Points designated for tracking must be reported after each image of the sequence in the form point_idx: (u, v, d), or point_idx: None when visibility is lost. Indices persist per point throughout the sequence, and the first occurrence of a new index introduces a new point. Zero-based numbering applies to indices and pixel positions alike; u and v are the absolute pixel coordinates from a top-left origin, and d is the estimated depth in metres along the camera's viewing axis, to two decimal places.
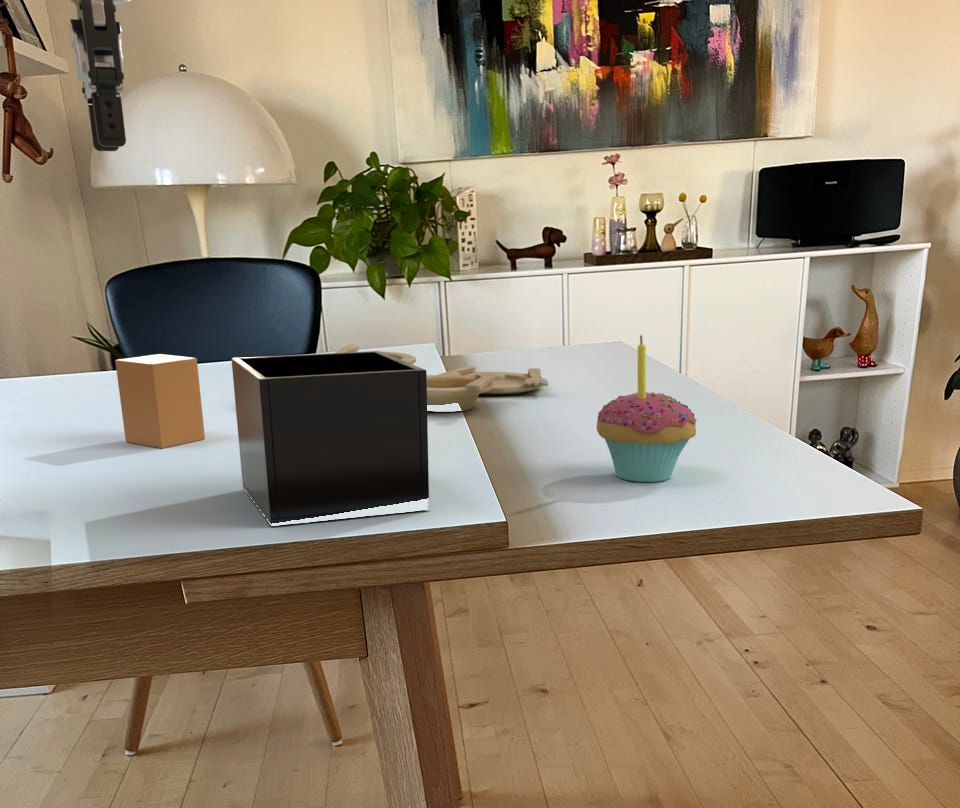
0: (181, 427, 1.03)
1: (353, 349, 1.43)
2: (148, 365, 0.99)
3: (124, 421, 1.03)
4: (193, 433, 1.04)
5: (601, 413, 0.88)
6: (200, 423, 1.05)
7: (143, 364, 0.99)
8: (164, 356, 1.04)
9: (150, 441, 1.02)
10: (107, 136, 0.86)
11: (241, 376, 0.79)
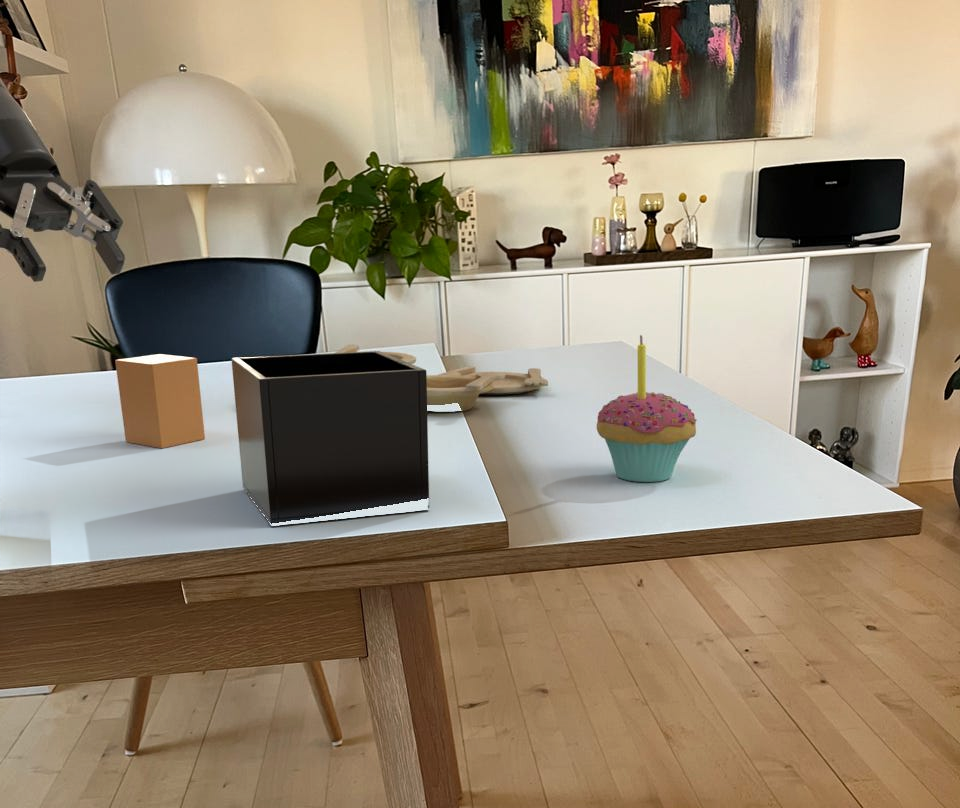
0: (181, 427, 1.03)
1: (353, 349, 1.43)
2: (148, 365, 0.99)
3: (124, 421, 1.03)
4: (193, 433, 1.04)
5: (601, 413, 0.88)
6: (200, 423, 1.05)
7: (143, 364, 0.99)
8: (164, 356, 1.04)
9: (150, 441, 1.02)
10: None
11: (241, 376, 0.79)
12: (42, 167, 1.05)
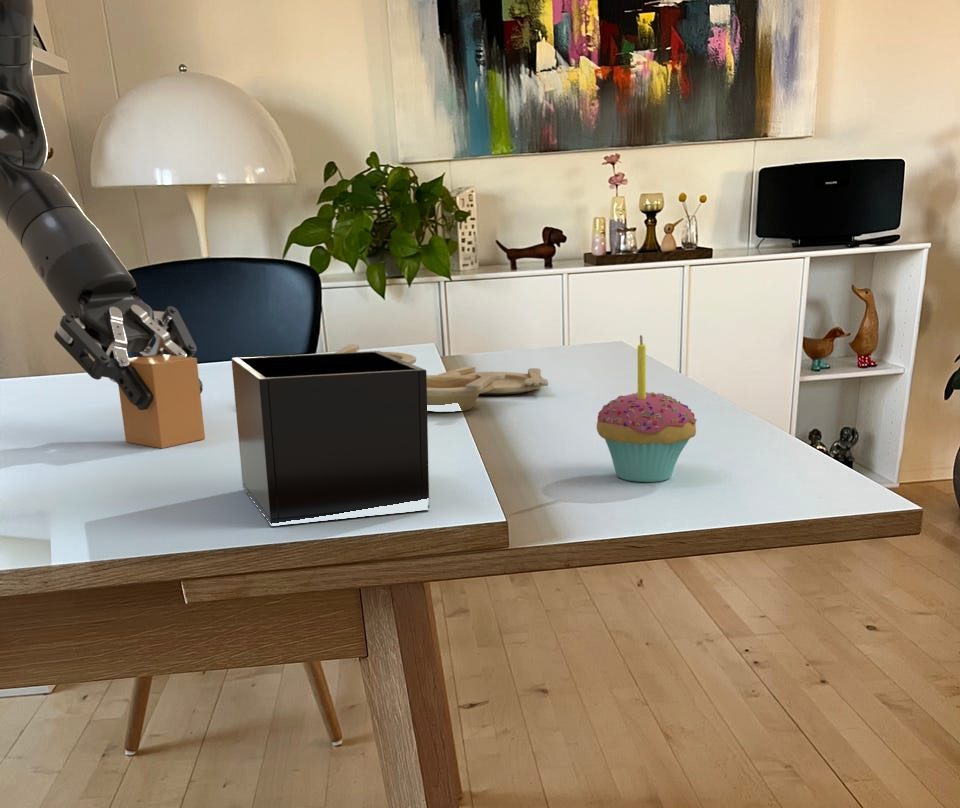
0: (181, 427, 1.03)
1: (353, 349, 1.43)
2: (148, 365, 0.99)
3: (124, 421, 1.03)
4: (193, 433, 1.04)
5: (601, 413, 0.88)
6: (200, 423, 1.05)
7: (143, 364, 0.99)
8: (164, 356, 1.04)
9: (150, 441, 1.02)
10: None
11: (241, 376, 0.79)
12: (123, 289, 1.03)
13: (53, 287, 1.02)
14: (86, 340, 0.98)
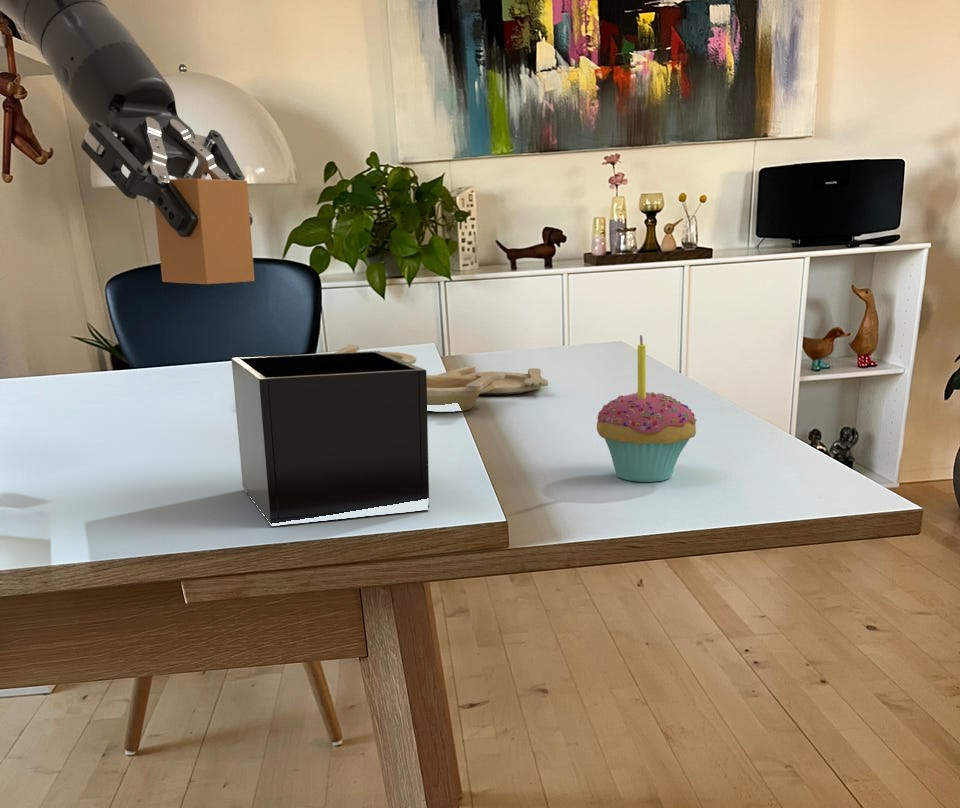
0: (228, 262, 0.88)
1: (353, 349, 1.43)
2: (192, 181, 0.84)
3: (161, 256, 0.88)
4: (241, 272, 0.89)
5: (601, 413, 0.88)
6: (250, 260, 0.90)
7: (186, 180, 0.84)
8: None
9: (193, 277, 0.87)
10: None
11: (241, 376, 0.79)
12: (160, 102, 0.88)
13: (79, 94, 0.86)
14: (120, 148, 0.83)
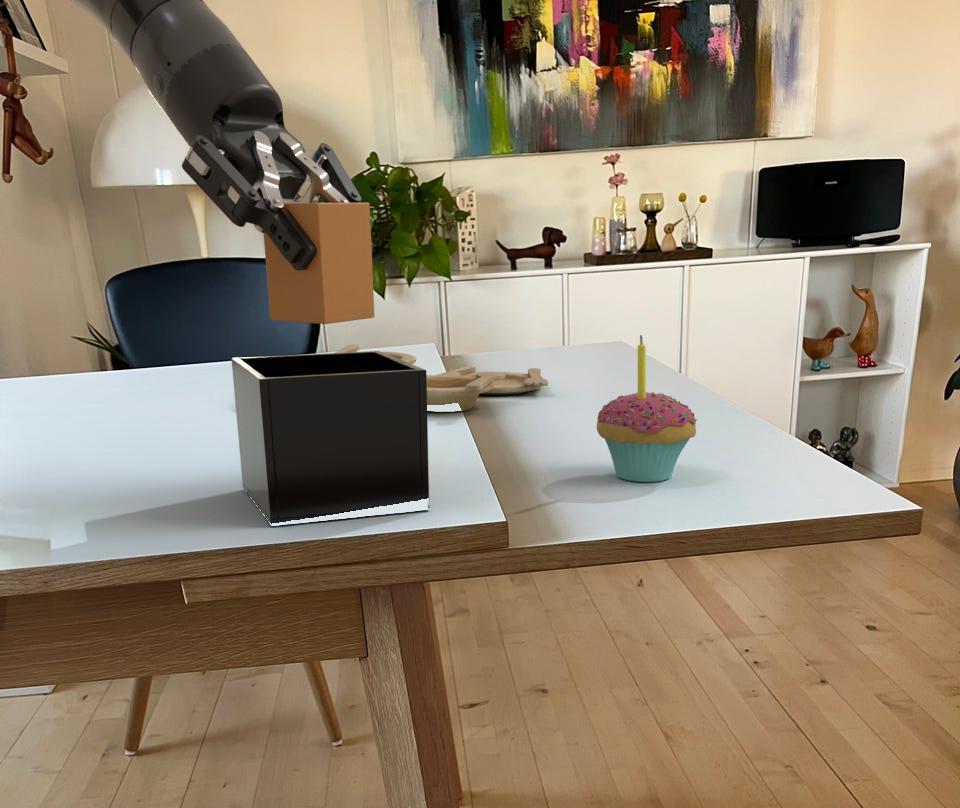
0: (348, 297, 0.76)
1: (353, 349, 1.43)
2: (311, 206, 0.72)
3: (270, 290, 0.76)
4: (361, 308, 0.77)
5: (601, 413, 0.88)
6: (370, 294, 0.78)
7: (304, 204, 0.72)
8: None
9: (308, 315, 0.75)
10: None
11: (241, 376, 0.79)
12: (268, 112, 0.76)
13: (176, 105, 0.75)
14: (228, 169, 0.71)
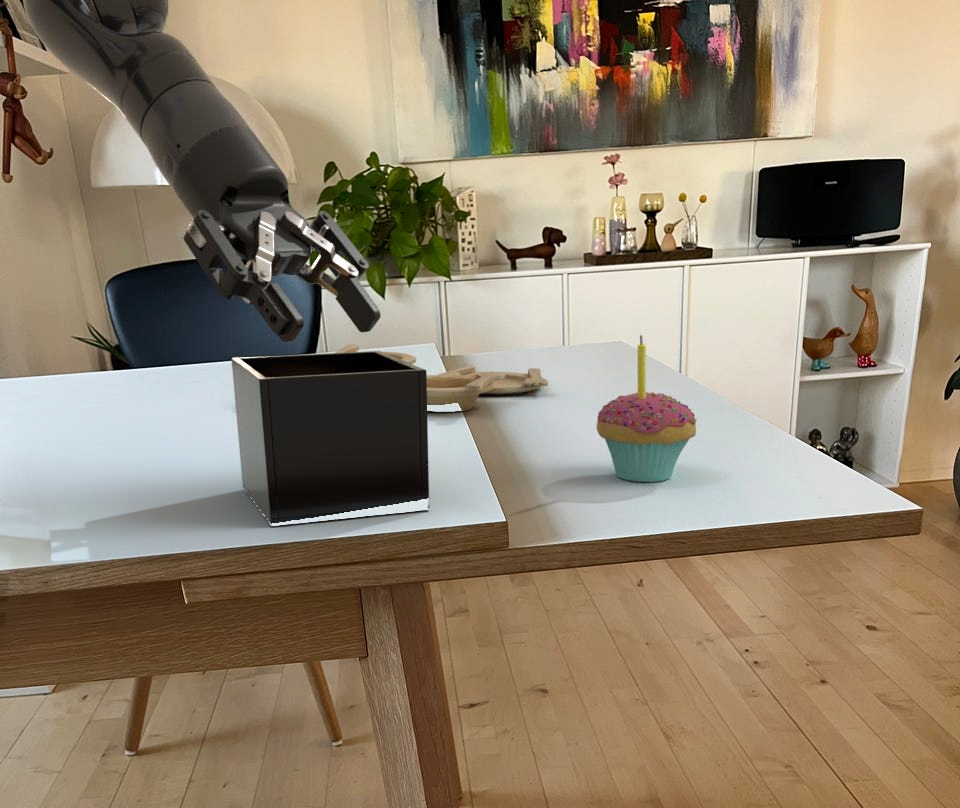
0: None
1: (353, 349, 1.43)
2: None
3: None
4: None
5: (601, 413, 0.88)
6: None
7: None
8: None
9: None
10: None
11: (241, 376, 0.79)
12: (274, 191, 0.79)
13: (185, 185, 0.77)
14: (222, 243, 0.73)
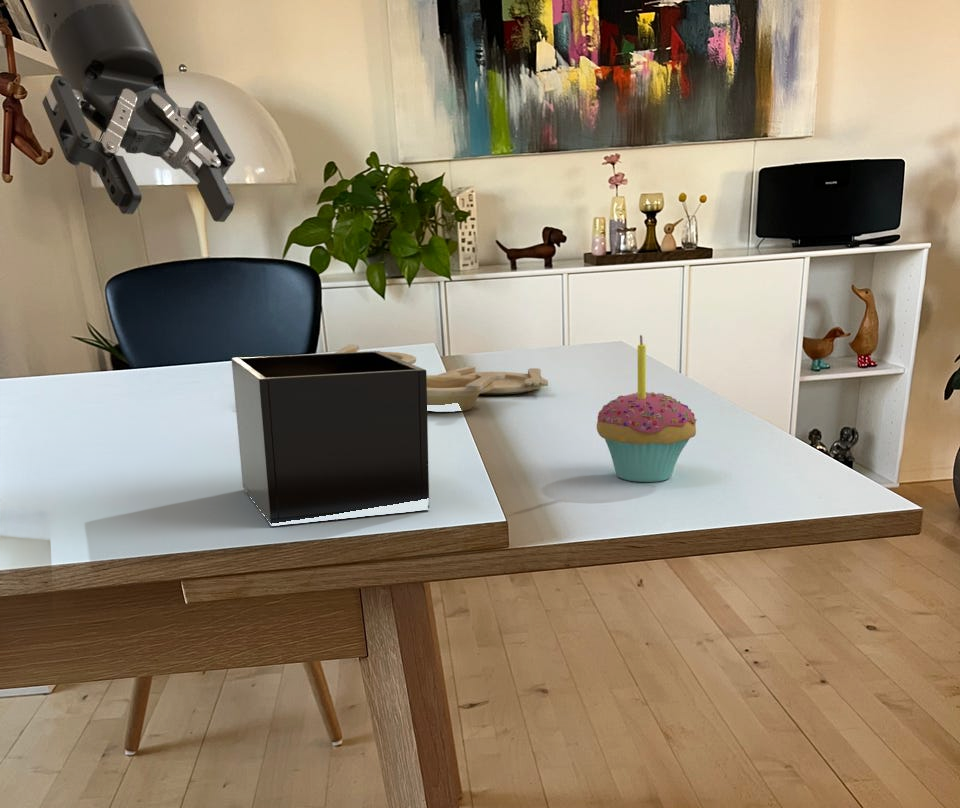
0: None
1: (353, 349, 1.43)
2: None
3: None
4: None
5: (601, 413, 0.88)
6: None
7: None
8: None
9: None
10: None
11: (241, 376, 0.79)
12: (146, 73, 0.82)
13: (58, 54, 0.81)
14: (72, 110, 0.77)
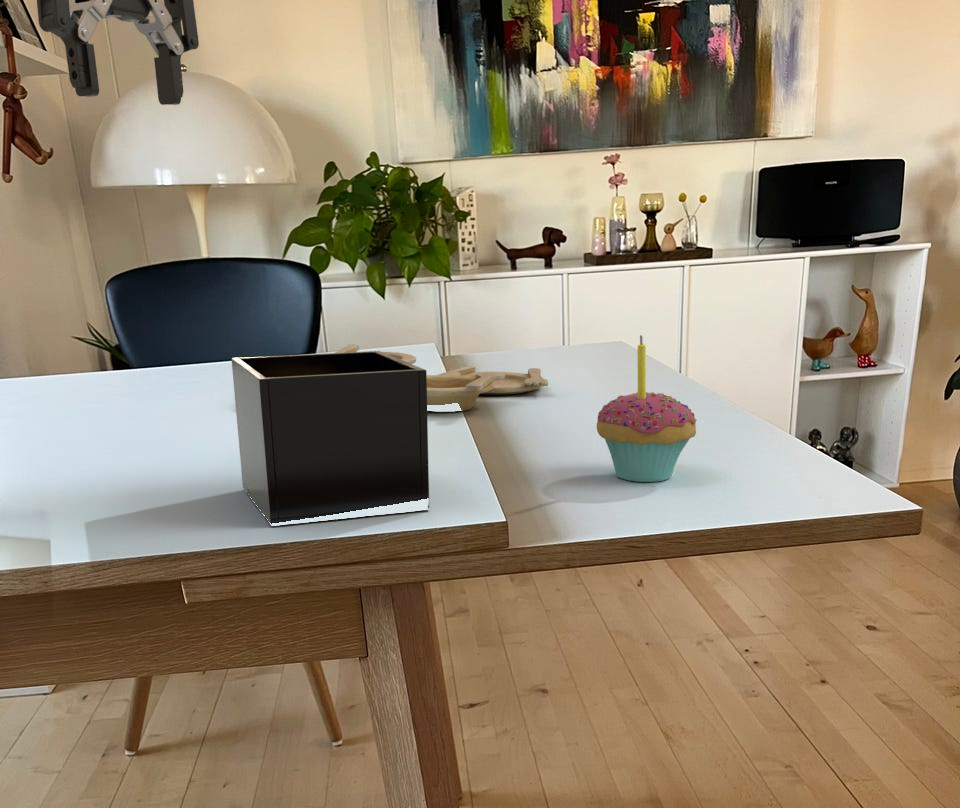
0: None
1: (353, 349, 1.43)
2: None
3: None
4: None
5: (601, 413, 0.88)
6: None
7: None
8: None
9: None
10: None
11: (241, 376, 0.79)
12: None
13: None
14: None
